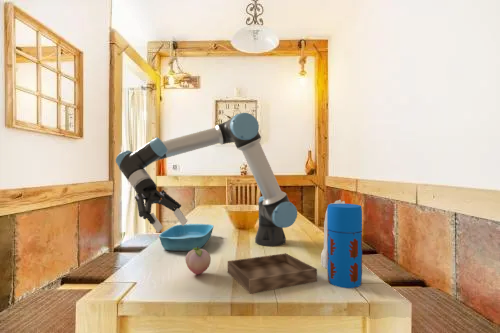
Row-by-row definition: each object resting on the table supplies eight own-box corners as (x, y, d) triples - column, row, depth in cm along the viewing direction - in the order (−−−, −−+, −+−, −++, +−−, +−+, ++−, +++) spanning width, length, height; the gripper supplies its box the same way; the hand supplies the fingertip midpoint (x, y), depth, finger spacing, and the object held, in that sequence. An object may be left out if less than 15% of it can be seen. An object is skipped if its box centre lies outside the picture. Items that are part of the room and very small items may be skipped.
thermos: (361, 278, 104) (361, 204, 104) (362, 290, 94) (362, 208, 94) (328, 274, 108) (328, 202, 108) (325, 285, 98) (325, 206, 98)
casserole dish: (176, 235, 170) (176, 222, 170) (216, 235, 169) (216, 222, 169) (152, 254, 133) (152, 238, 133) (203, 255, 132) (203, 238, 132)
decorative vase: (334, 272, 110) (334, 202, 110) (315, 263, 119) (315, 199, 119) (357, 267, 115) (357, 200, 115) (336, 259, 124) (336, 198, 124)
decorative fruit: (215, 276, 106) (215, 247, 106) (192, 281, 102) (192, 250, 102) (204, 268, 114) (204, 241, 114) (182, 272, 110) (182, 244, 110)
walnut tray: (285, 263, 120) (285, 253, 120) (316, 281, 101) (316, 269, 101) (227, 272, 110) (227, 261, 110) (250, 293, 92) (250, 280, 92)
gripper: (160, 188, 131) (188, 227, 125) (110, 193, 109) (142, 240, 102) (170, 176, 129) (199, 214, 122) (121, 178, 107) (154, 225, 100)
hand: (173, 226), depth 112 cm, fingers open, 13 cm apart
